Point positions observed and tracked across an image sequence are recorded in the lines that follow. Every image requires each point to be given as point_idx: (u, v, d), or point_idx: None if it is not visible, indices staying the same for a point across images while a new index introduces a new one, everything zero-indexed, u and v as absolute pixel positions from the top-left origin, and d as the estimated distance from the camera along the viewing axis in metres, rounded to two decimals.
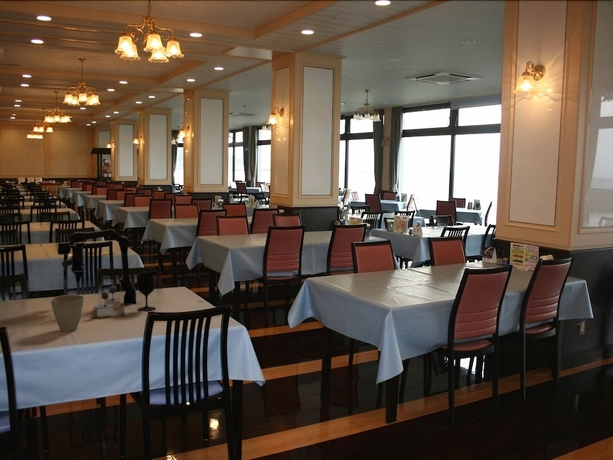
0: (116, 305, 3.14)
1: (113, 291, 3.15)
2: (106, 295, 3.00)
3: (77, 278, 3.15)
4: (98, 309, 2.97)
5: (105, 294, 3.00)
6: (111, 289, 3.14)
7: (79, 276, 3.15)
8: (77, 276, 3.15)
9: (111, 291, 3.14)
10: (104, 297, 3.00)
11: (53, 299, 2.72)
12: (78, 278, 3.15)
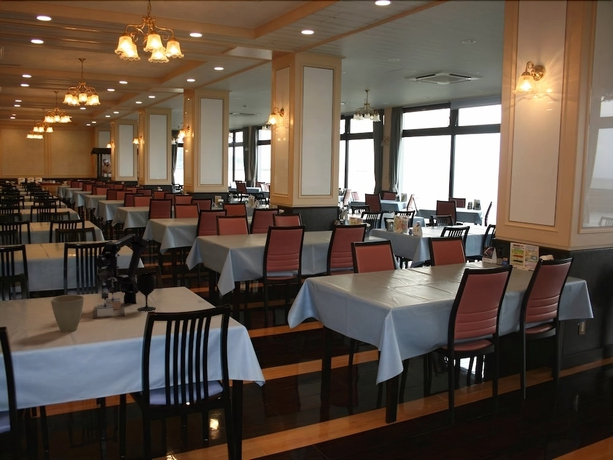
0: (116, 305, 3.14)
1: (113, 291, 3.15)
2: (106, 295, 3.00)
3: (116, 288, 3.15)
4: (98, 309, 2.97)
5: (105, 294, 3.00)
6: (111, 289, 3.14)
7: (118, 286, 3.16)
8: (116, 286, 3.15)
9: (111, 291, 3.14)
10: (104, 297, 3.00)
11: (53, 299, 2.72)
12: (117, 288, 3.15)
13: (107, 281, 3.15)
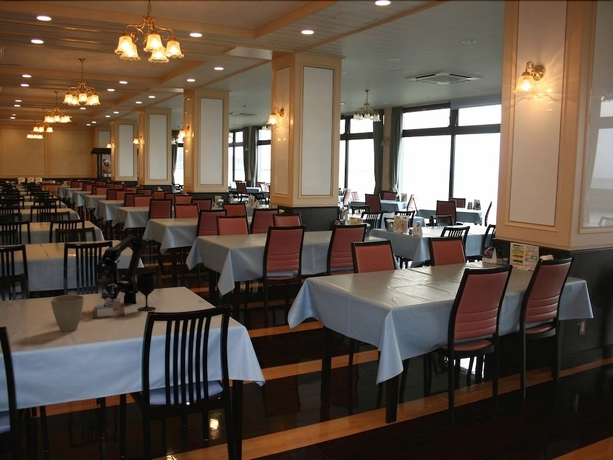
0: (116, 305, 3.14)
1: (113, 297, 3.15)
2: (106, 295, 3.00)
3: (116, 294, 3.15)
4: (98, 309, 2.97)
5: (105, 294, 3.00)
6: (111, 295, 3.15)
7: (118, 292, 3.16)
8: (117, 292, 3.15)
9: (111, 297, 3.15)
10: (104, 297, 3.00)
11: (53, 299, 2.72)
12: (117, 294, 3.16)
13: (107, 287, 3.16)
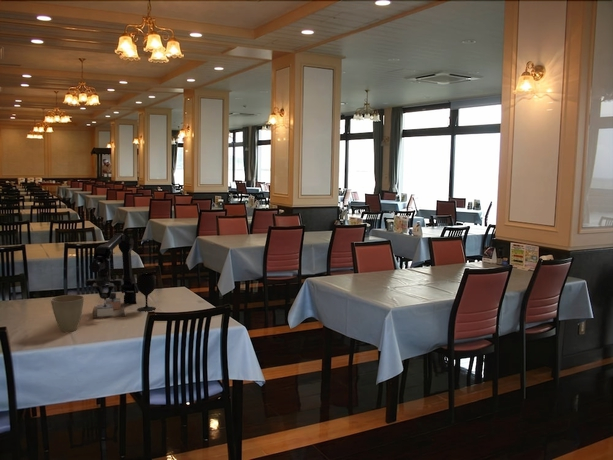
0: (116, 305, 3.14)
1: (113, 297, 3.15)
2: (106, 295, 3.00)
3: (110, 293, 3.02)
4: (98, 309, 2.97)
5: (105, 294, 3.00)
6: (111, 295, 3.15)
7: (111, 290, 3.02)
8: (110, 291, 3.01)
9: (111, 297, 3.15)
10: (104, 297, 3.00)
11: (53, 299, 2.72)
12: (110, 293, 3.02)
13: (99, 287, 3.00)
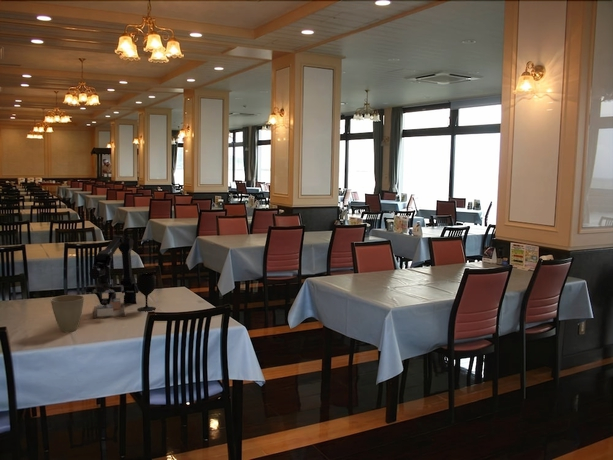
0: (116, 305, 3.14)
1: (113, 297, 3.15)
2: (106, 301, 3.01)
3: (110, 299, 3.02)
4: (98, 309, 2.97)
5: (105, 300, 3.00)
6: None
7: (111, 297, 3.03)
8: (110, 297, 3.02)
9: None
10: (104, 303, 3.00)
11: (53, 299, 2.72)
12: (110, 299, 3.02)
13: (99, 293, 3.00)
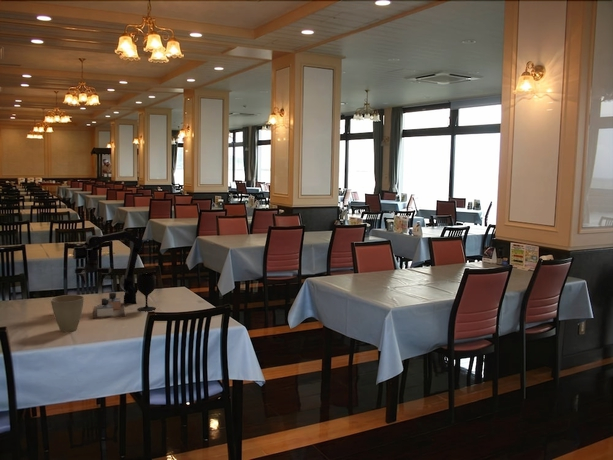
0: (116, 305, 3.14)
1: (113, 297, 3.15)
2: (106, 301, 3.01)
3: (103, 280, 3.18)
4: (98, 309, 2.97)
5: (105, 300, 3.00)
6: (111, 295, 3.15)
7: (104, 278, 3.19)
8: (103, 278, 3.18)
9: (111, 297, 3.15)
10: (104, 303, 3.00)
11: (53, 299, 2.72)
12: (103, 280, 3.19)
13: (83, 274, 3.16)
